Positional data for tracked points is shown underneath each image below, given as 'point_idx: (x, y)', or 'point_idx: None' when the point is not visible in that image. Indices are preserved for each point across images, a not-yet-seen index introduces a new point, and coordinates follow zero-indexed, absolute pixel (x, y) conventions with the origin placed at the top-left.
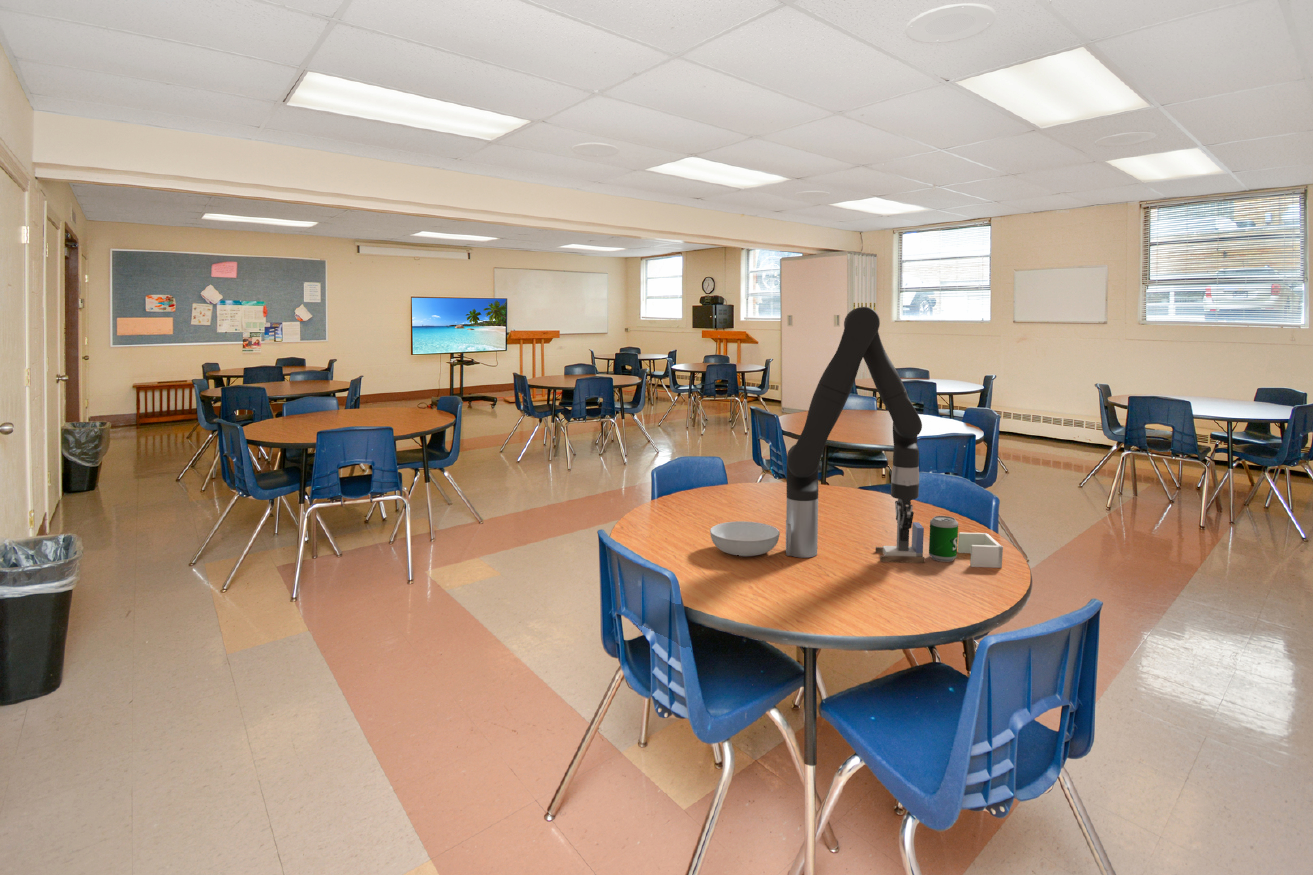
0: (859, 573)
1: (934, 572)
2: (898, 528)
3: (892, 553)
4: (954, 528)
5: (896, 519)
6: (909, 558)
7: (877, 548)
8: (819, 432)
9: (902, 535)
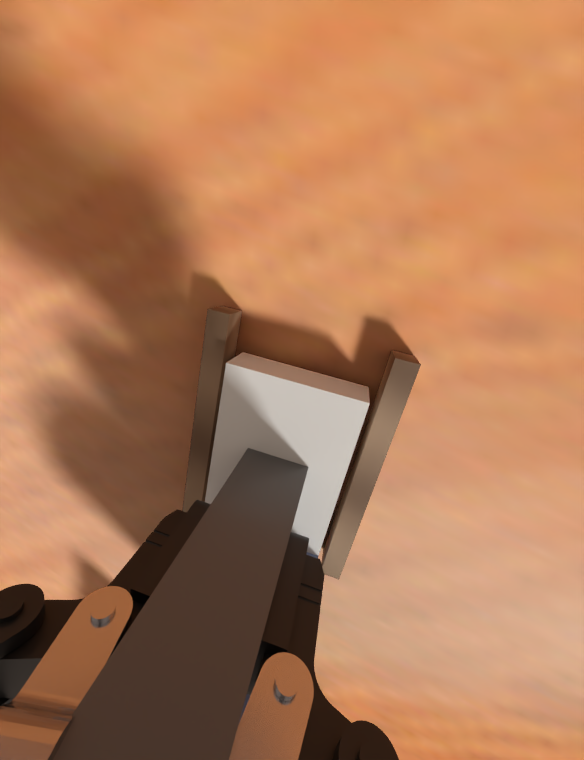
0: (23, 76)
1: (84, 478)
2: (201, 586)
3: (224, 396)
4: None
5: (371, 741)
6: (192, 458)
7: (391, 365)
8: None
9: (152, 536)
